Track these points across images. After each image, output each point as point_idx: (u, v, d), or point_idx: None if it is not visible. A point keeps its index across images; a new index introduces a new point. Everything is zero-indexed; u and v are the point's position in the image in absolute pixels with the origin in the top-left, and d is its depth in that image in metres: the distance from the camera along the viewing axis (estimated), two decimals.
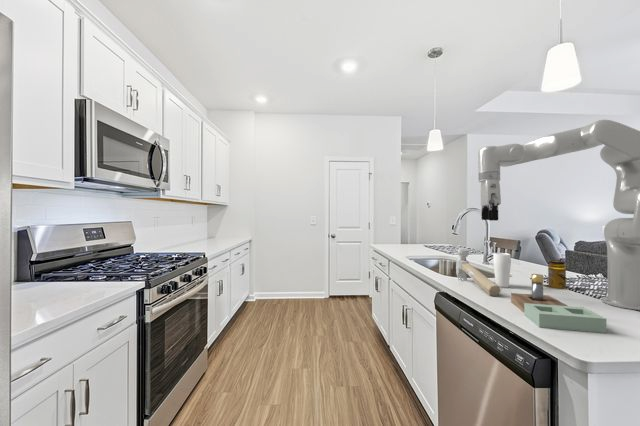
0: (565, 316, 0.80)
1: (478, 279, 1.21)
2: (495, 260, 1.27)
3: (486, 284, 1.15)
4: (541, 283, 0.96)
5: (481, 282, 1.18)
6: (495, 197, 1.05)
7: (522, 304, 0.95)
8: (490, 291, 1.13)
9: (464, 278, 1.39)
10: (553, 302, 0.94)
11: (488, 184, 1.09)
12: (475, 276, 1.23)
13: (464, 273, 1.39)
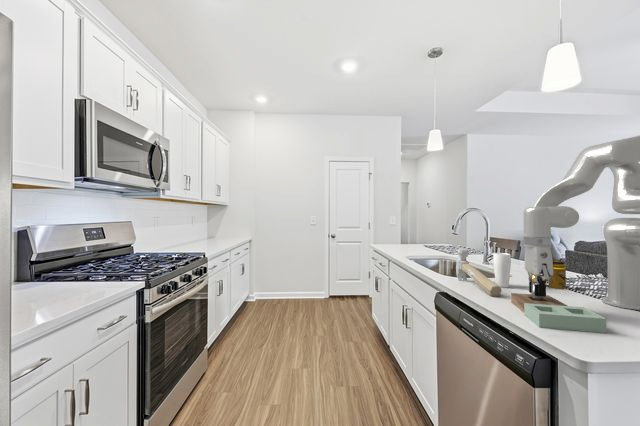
0: (565, 316, 0.80)
1: (479, 279, 1.20)
2: (495, 260, 1.27)
3: (487, 284, 1.14)
4: None
5: (482, 282, 1.18)
6: (546, 276, 0.92)
7: (522, 304, 0.95)
8: (491, 292, 1.12)
9: (464, 278, 1.38)
10: (553, 302, 0.94)
11: (538, 252, 0.94)
12: (476, 276, 1.23)
13: (464, 273, 1.39)
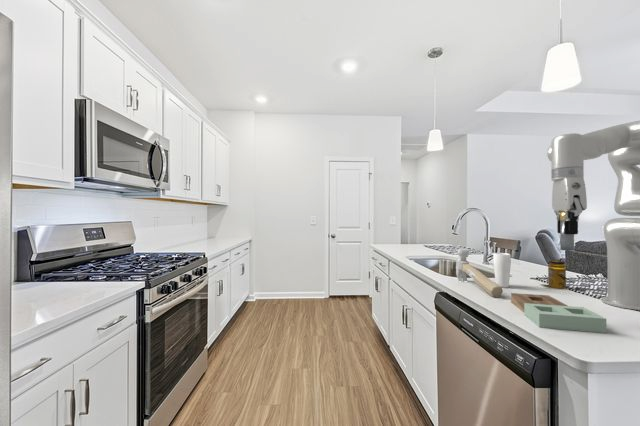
0: (565, 316, 0.80)
1: (480, 280, 1.19)
2: (495, 260, 1.27)
3: (488, 285, 1.13)
4: None
5: (483, 283, 1.17)
6: (578, 208, 0.81)
7: (522, 304, 0.95)
8: (492, 292, 1.11)
9: (464, 279, 1.37)
10: (553, 302, 0.94)
11: (569, 183, 0.83)
12: (476, 277, 1.22)
13: (464, 274, 1.38)
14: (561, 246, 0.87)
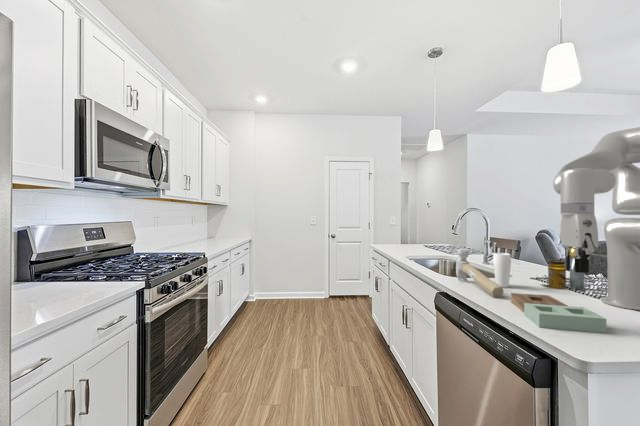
0: (565, 316, 0.80)
1: (480, 280, 1.19)
2: (495, 260, 1.27)
3: (489, 285, 1.13)
4: None
5: (483, 283, 1.16)
6: (590, 247, 0.78)
7: (522, 304, 0.95)
8: (493, 293, 1.10)
9: (464, 279, 1.37)
10: (553, 302, 0.94)
11: (580, 220, 0.80)
12: (477, 277, 1.21)
13: (464, 274, 1.37)
14: (571, 283, 0.84)
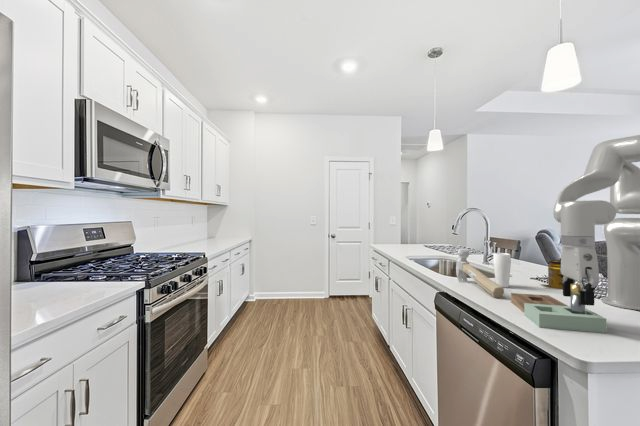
0: (565, 316, 0.80)
1: (481, 280, 1.18)
2: (495, 260, 1.27)
3: (490, 286, 1.13)
4: None
5: (484, 284, 1.16)
6: (594, 277, 0.77)
7: (522, 304, 0.95)
8: (494, 293, 1.10)
9: (464, 279, 1.36)
10: (553, 302, 0.94)
11: (580, 254, 0.80)
12: (477, 277, 1.21)
13: (464, 274, 1.37)
14: None
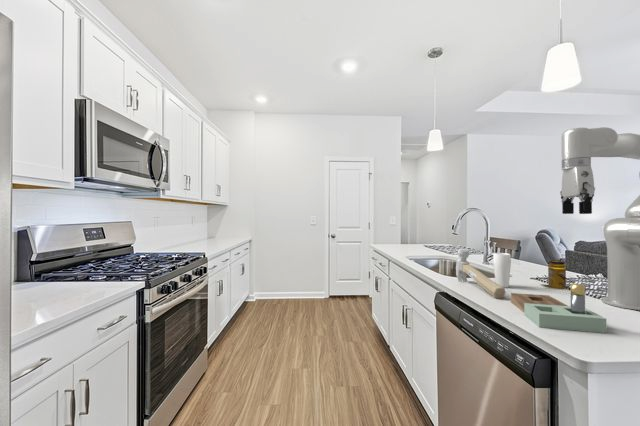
0: (565, 316, 0.80)
1: (481, 281, 1.17)
2: (495, 260, 1.27)
3: (491, 286, 1.12)
4: (583, 295, 0.82)
5: (485, 284, 1.15)
6: (590, 186, 0.90)
7: (522, 304, 0.95)
8: (495, 293, 1.09)
9: (464, 280, 1.36)
10: (553, 302, 0.94)
11: (578, 172, 0.93)
12: (478, 278, 1.20)
13: (464, 274, 1.36)
14: None
